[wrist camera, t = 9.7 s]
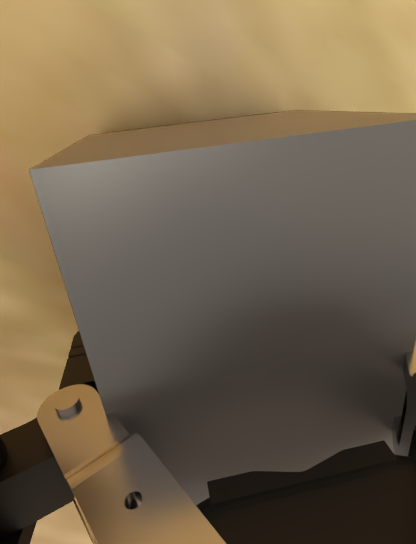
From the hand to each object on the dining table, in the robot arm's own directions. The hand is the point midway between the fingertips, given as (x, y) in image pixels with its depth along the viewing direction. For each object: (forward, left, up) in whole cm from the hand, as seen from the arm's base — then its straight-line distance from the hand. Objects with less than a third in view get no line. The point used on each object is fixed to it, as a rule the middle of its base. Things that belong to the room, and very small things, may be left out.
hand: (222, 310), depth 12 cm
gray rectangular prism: (0, 0, -2) cm, 2 cm away
